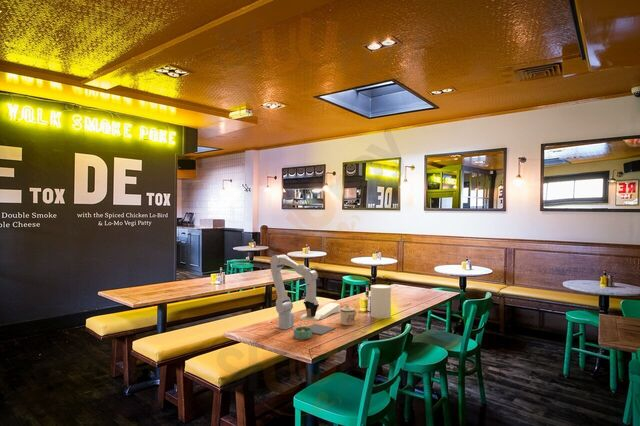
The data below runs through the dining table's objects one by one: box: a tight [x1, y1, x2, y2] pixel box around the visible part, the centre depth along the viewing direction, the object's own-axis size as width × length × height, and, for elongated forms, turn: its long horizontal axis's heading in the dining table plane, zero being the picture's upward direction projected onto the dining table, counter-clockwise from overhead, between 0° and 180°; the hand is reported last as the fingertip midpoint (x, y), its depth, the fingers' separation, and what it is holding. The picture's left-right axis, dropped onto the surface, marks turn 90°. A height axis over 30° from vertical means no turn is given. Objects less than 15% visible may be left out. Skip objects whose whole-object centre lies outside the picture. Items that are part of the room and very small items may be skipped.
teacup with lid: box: [340, 304, 357, 326], centre depth 244 cm, size 12×9×12 cm
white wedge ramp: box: [316, 302, 342, 320], centre depth 265 cm, size 10×7×28 cm
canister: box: [370, 283, 392, 320], centre depth 261 cm, size 14×14×20 cm
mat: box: [308, 323, 336, 336], centre depth 230 cm, size 15×15×1 cm
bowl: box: [293, 326, 313, 340], centre depth 217 cm, size 10×10×4 cm
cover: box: [298, 308, 322, 322], centre depth 224 cm, size 11×11×5 cm
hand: (311, 314), depth 224 cm, fingers closed on cover, 6 cm apart
